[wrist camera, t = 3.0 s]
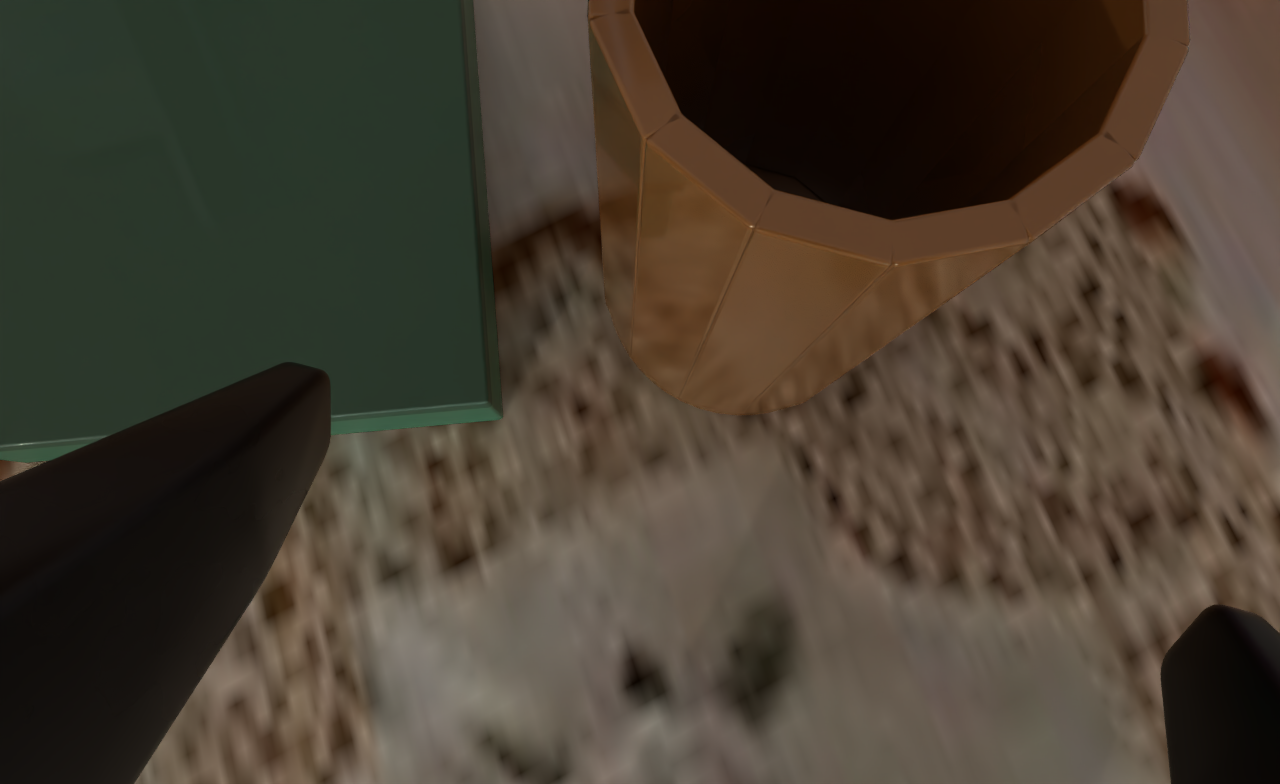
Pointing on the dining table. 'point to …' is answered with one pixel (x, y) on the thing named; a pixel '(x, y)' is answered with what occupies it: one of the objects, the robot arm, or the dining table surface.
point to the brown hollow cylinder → (844, 167)
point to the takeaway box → (240, 212)
